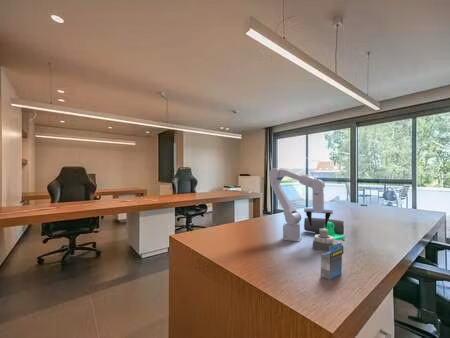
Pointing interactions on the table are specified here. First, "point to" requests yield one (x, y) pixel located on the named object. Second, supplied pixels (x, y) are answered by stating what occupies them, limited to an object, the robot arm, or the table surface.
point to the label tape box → (332, 262)
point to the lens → (323, 233)
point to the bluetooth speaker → (320, 223)
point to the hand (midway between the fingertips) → (318, 226)
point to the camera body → (325, 243)
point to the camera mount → (331, 231)
